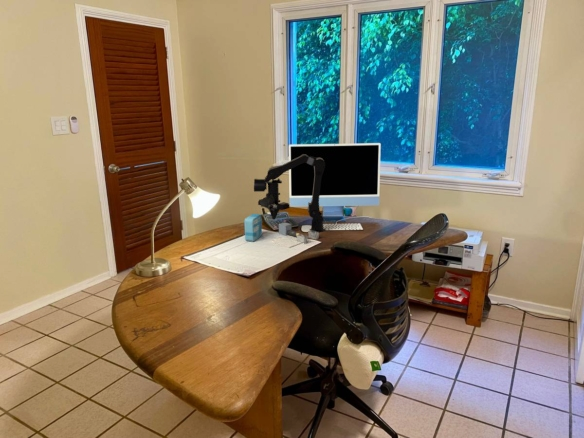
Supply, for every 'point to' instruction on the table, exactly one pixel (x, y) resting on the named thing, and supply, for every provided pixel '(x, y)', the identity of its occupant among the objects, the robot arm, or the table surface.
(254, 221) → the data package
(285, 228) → the plug
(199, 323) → the table surface
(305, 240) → the housing
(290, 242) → the mat
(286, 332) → the table surface
